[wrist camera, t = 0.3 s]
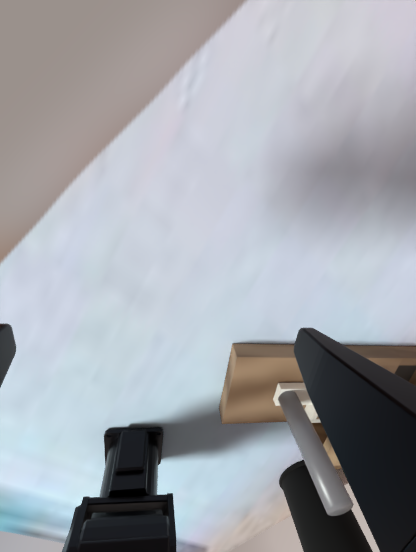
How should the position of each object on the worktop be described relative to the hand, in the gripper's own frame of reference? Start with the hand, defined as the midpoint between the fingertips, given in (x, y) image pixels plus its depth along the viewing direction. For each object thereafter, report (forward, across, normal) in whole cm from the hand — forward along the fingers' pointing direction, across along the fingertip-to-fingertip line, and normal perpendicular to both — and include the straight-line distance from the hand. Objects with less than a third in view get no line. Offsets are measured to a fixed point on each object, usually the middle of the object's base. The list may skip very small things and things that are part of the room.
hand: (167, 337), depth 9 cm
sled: (+12, -18, +17) cm, 27 cm away
